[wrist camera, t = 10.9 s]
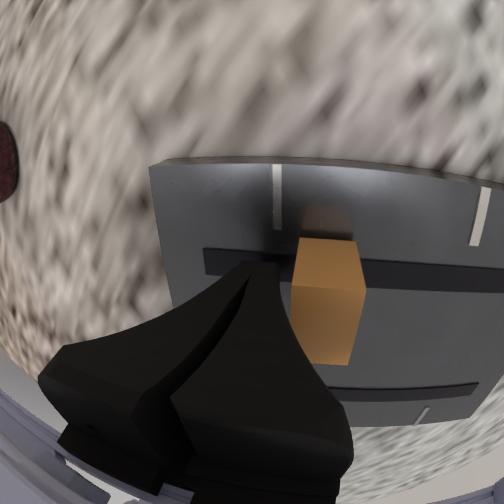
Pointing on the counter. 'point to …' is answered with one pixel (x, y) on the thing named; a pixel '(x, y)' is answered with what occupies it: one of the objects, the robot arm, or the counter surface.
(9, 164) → the can
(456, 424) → the counter surface
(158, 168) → the console board
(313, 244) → the orange fader
